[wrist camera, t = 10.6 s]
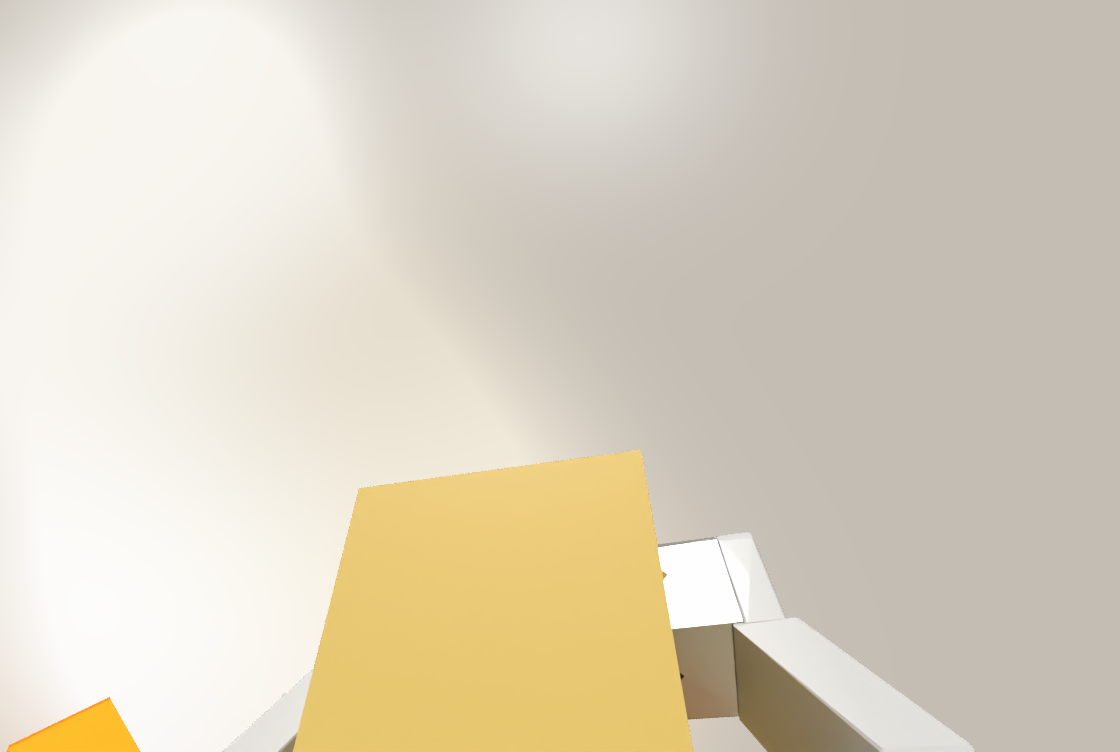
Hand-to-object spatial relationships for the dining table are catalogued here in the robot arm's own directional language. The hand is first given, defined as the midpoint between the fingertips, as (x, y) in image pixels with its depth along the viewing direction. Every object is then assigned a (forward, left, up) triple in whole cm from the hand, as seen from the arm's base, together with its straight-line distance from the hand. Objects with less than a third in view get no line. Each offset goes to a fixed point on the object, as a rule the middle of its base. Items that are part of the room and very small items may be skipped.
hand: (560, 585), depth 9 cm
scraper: (+3, +3, -8) cm, 10 cm away
